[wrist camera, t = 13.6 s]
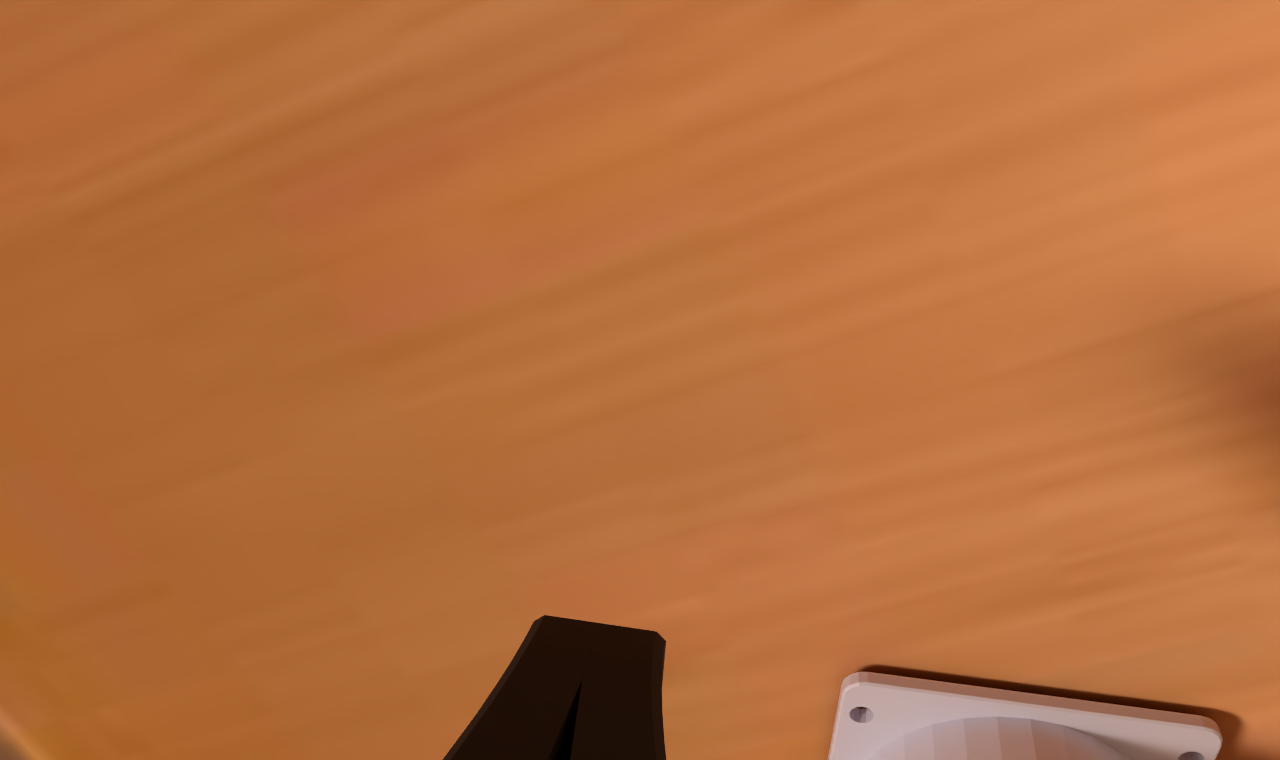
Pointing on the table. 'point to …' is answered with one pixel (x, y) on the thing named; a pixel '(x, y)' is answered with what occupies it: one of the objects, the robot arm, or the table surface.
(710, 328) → the table surface
